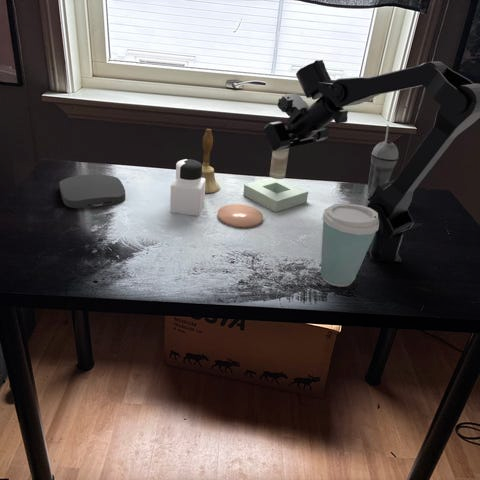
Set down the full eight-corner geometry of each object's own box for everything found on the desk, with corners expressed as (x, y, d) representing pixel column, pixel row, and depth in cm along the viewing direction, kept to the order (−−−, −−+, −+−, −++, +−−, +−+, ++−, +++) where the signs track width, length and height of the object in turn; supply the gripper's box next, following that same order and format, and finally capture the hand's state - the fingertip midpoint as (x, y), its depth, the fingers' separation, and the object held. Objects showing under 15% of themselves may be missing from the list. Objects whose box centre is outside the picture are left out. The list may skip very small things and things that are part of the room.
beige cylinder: (285, 179, 120) (291, 137, 115) (269, 178, 120) (275, 136, 115) (284, 173, 124) (290, 133, 119) (269, 172, 124) (274, 131, 119)
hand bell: (190, 180, 131) (193, 123, 123) (220, 182, 131) (225, 126, 124) (187, 192, 124) (190, 132, 116) (219, 195, 124) (223, 135, 116)
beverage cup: (390, 201, 131) (410, 130, 121) (364, 199, 131) (382, 128, 121) (384, 191, 137) (402, 123, 128) (359, 188, 137) (375, 120, 127)
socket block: (306, 201, 125) (308, 191, 124) (275, 212, 118) (276, 201, 117) (274, 186, 133) (276, 176, 131) (243, 194, 126) (244, 184, 124)
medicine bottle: (204, 204, 118) (207, 158, 112) (199, 216, 112) (201, 169, 106) (176, 200, 119) (177, 155, 113) (169, 212, 112) (170, 165, 107)
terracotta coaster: (263, 229, 109) (263, 226, 109) (216, 225, 109) (216, 222, 109) (262, 209, 119) (262, 206, 118) (218, 205, 119) (219, 202, 118)
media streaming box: (58, 186, 120) (57, 175, 119) (116, 182, 126) (115, 171, 125) (65, 211, 109) (64, 199, 107) (129, 205, 115) (128, 193, 113)
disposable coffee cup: (302, 281, 92) (315, 212, 85) (320, 257, 101) (334, 193, 93) (355, 300, 88) (373, 229, 81) (369, 274, 97) (387, 208, 89)
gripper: (328, 82, 114) (288, 116, 126) (274, 87, 102) (236, 124, 115) (348, 123, 113) (305, 153, 125) (296, 133, 101) (255, 165, 114)
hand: (276, 148), depth 120 cm, fingers closed on beige cylinder, 4 cm apart
